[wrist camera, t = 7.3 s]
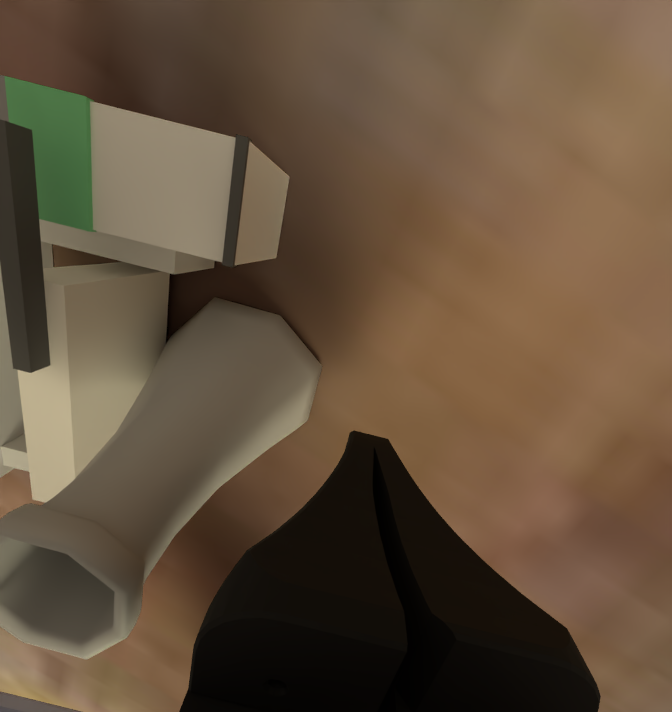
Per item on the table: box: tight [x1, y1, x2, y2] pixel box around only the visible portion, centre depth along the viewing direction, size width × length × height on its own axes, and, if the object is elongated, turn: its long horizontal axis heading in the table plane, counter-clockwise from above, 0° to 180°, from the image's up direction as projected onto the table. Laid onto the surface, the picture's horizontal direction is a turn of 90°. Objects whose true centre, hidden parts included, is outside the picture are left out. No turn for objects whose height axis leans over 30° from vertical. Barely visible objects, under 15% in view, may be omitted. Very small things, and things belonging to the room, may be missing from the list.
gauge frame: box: [0, 75, 290, 477], centre depth 12 cm, size 14×12×6 cm
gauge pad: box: [0, 120, 170, 503], centre depth 11 cm, size 12×2×6 cm, turn 167°
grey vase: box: [0, 297, 322, 659], centre depth 10 cm, size 7×7×10 cm
